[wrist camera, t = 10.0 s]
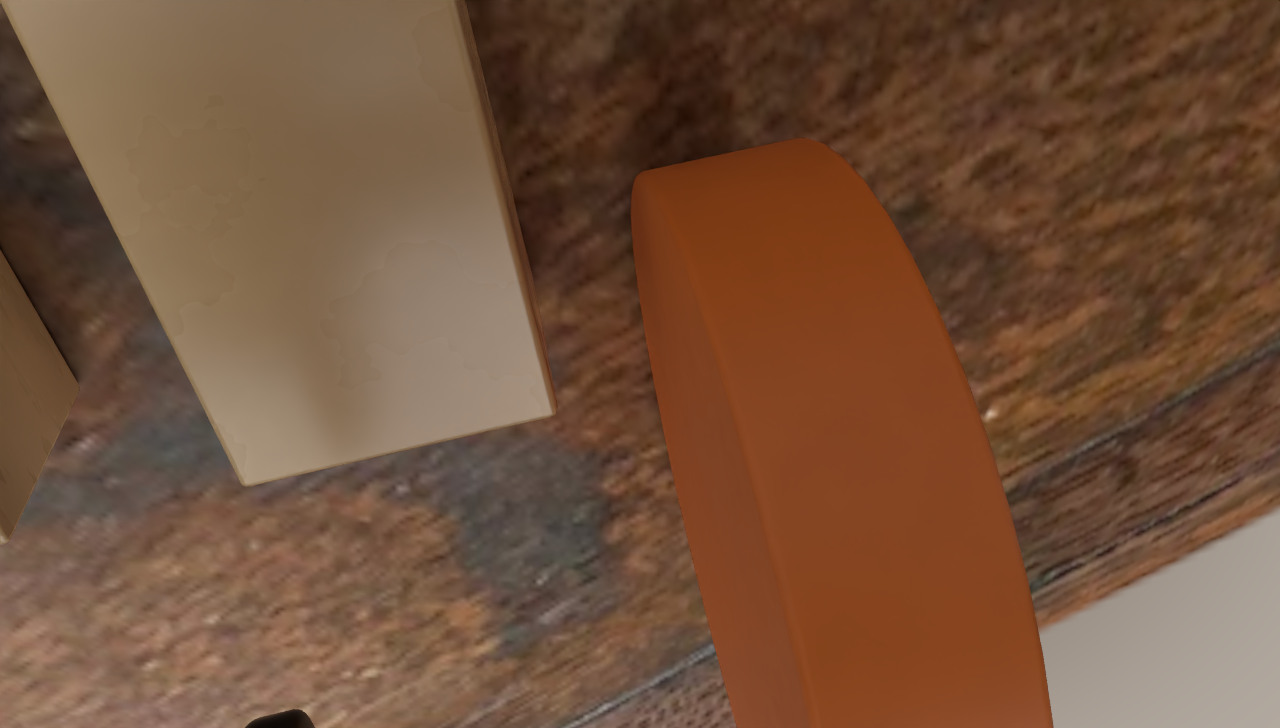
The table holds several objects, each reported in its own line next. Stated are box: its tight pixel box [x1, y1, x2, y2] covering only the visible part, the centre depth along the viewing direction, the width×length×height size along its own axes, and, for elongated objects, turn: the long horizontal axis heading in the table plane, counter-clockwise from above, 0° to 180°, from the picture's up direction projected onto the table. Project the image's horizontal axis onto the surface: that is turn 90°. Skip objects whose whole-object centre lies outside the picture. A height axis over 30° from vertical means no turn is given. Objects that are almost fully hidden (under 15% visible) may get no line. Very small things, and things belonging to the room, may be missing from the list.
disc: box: [631, 138, 1053, 728], centre depth 10 cm, size 2×7×7 cm, turn 9°
